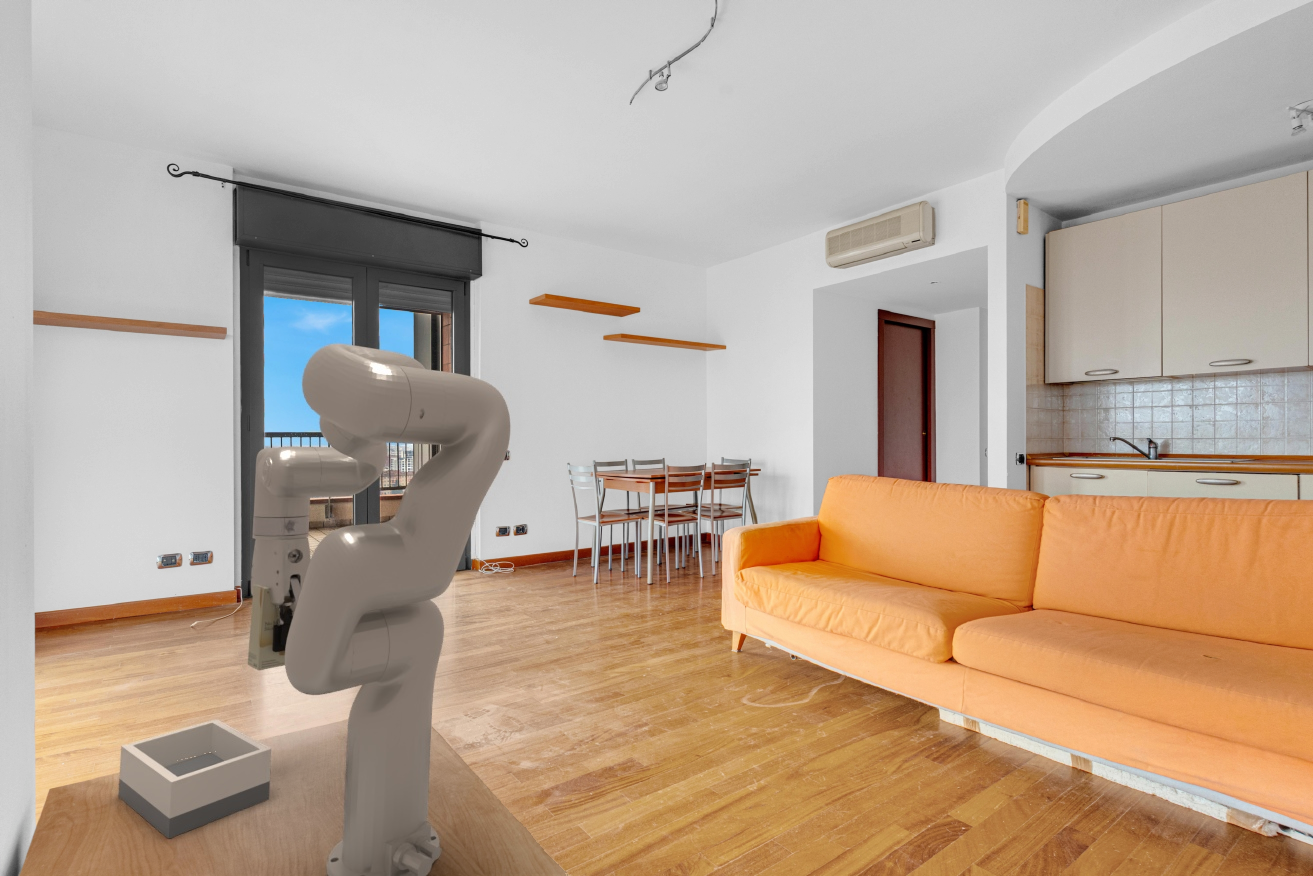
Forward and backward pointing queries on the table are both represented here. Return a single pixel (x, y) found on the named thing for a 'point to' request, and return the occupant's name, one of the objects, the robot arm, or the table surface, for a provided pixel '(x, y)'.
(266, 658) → the skincare box
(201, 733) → the box
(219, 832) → the table surface
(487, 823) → the table surface
